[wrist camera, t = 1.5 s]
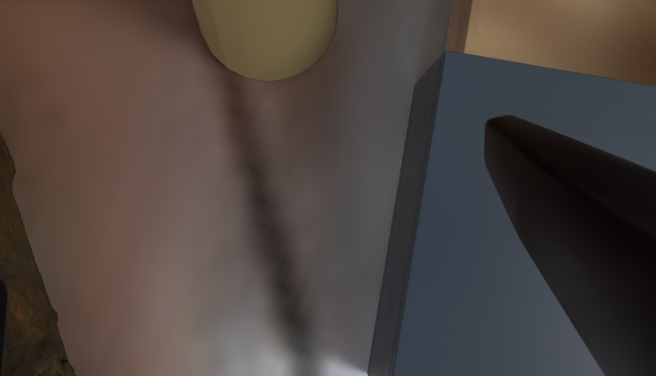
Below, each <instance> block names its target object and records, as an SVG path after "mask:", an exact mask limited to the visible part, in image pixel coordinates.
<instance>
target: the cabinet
mask: <svg viewBox="0 0 656 376" xmlns="http://www.w3.org/2000/svg"><path fill="white" fill-rule="evenodd" d="M505 114H512V115H515V116H518V117H520V118H523V119H525V120H528V121H530V122H533V123H535V124H538V125H540V126H543V127H545V128H548V129H550V130H553V131H555V132H558V133H561V134H563V135H566V136H568V137H571V138H573V139H576V140H578V141H581V142H583V143H586V144H588V145H591V146H593V147H596V148H598V149H601V150H604V151H606V152H609V153H611V154H614V155H616V156H619V157H621V158H624V159H626V160H629V161H631V162H634V163H636V164H639V165H641V166H644V167H647V168H649V169H652V170H654V171H656V86H652V85H646V84H640V83H635V82H629V81H623V80H617V79H611V78H605V77H600V76H594V75H588V74H582V73H576V72H571V71H565V70H559V69H553V68H547V67H541V66H536V65H530V64H524V63H518V62H512V61H506V60H501V59H495V58H489V57H483V56H477V55H471V54H466V53H460V52H454V51H448V50H446V51H445V52H444V53H443V54H442V55H441V56H440V58H439V59H438V60H437V61H436V62H435V63H434V64H433V66H432V67H431V68H430V69H429V70H428V71H427V72H426V73H425V75H424V76H423V77H422V78H421V79H420V80H419V81H418V83H417V84H416V85H415V86H414V92H413V98H412V104H411V111H410V117H409V123H408V129H407V135H406V141H405V147H404V153H403V159H402V165H401V171H400V178H399V184H398V190H397V196H396V202H395V208H394V214H393V220H392V226H391V232H390V238H389V244H388V251H387V257H386V263H385V269H384V275H383V281H382V287H381V293H380V299H379V305H378V311H377V317H376V324H375V330H374V336H373V342H372V348H371V354H370V360H369V366H368V372H367V374H368V376H605V375H604V374H603V372H602V371H601V369H600V367H599V366H598V364H597V363H596V361H595V359H594V358H593V356H592V355H591V353H590V351H589V350H588V348H587V347H586V345H585V343H584V342H583V340H582V339H581V337H580V335H579V334H578V332H577V331H576V329H575V327H574V326H573V324H572V323H571V321H570V319H569V318H568V316H567V315H566V313H565V311H564V310H563V308H562V307H561V305H560V303H559V302H558V300H557V299H556V297H555V295H554V294H553V292H552V291H551V289H550V287H549V286H548V284H547V283H546V281H545V279H544V278H543V276H542V275H541V273H540V271H539V270H538V268H537V266H536V265H535V263H534V262H533V260H532V258H531V257H530V255H529V254H528V252H527V250H526V249H525V247H524V245H523V244H522V242H521V240H520V239H519V237H518V235H517V233H516V231H515V229H514V227H513V225H512V222H511V220H510V218H509V216H508V214H507V212H506V209H505V207H504V205H503V203H502V201H501V199H500V196H499V194H498V192H497V190H496V188H495V186H494V183H493V181H492V179H491V177H490V175H489V173H488V171H487V168H486V165H485V161H484V134H485V124H486V121H487V120H488V119H490V118H493V117H497V116H501V115H505Z"/></svg>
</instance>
